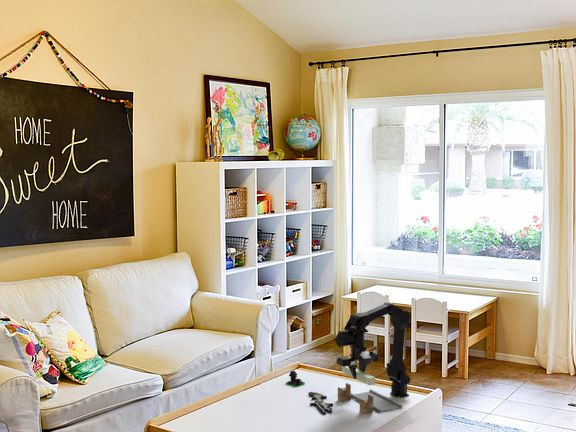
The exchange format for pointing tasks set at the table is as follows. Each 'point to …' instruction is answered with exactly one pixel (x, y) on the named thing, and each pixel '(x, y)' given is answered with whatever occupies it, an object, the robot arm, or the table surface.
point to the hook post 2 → (366, 405)
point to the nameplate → (320, 403)
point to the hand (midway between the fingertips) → (358, 378)
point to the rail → (360, 376)
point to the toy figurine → (294, 380)
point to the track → (378, 401)
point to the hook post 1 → (344, 393)
